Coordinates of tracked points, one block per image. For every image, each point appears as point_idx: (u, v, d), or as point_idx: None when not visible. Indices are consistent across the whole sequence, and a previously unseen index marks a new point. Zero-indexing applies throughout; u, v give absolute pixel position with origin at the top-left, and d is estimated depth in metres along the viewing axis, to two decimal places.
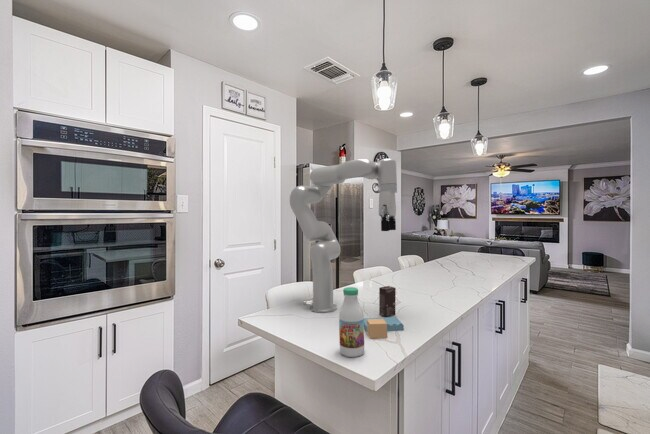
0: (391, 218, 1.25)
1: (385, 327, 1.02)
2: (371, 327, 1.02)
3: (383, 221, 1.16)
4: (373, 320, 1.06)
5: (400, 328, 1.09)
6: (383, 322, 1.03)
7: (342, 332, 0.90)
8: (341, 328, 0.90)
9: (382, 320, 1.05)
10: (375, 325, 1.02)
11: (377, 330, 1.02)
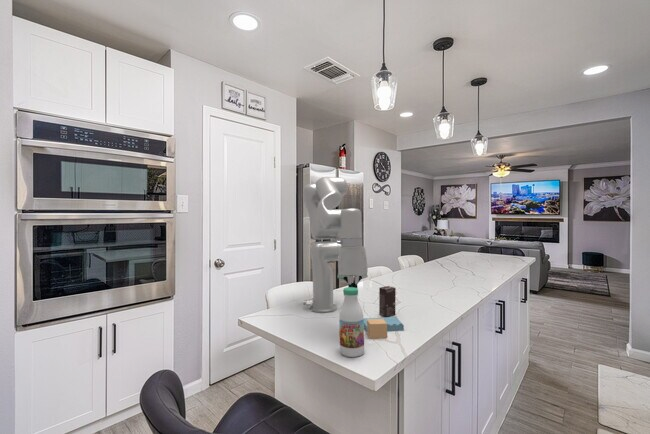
0: None
1: (385, 327, 1.02)
2: (371, 327, 1.02)
3: None
4: (373, 320, 1.06)
5: (400, 328, 1.09)
6: (383, 322, 1.03)
7: (342, 332, 0.90)
8: (341, 328, 0.90)
9: (382, 320, 1.05)
10: (375, 325, 1.02)
11: (377, 330, 1.02)
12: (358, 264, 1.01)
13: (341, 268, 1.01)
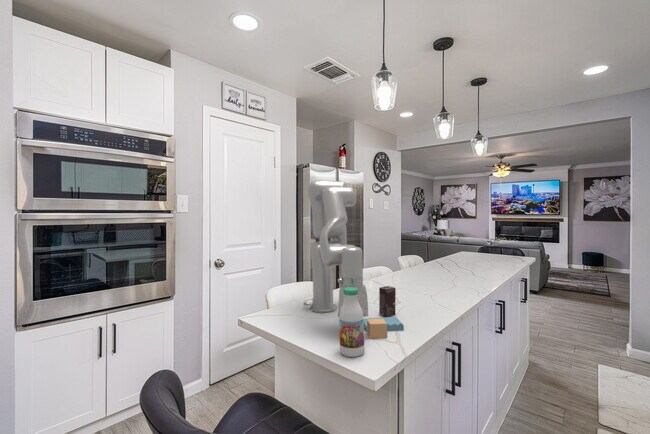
0: None
1: (385, 327, 1.02)
2: (371, 327, 1.02)
3: None
4: (373, 320, 1.06)
5: (400, 328, 1.09)
6: (383, 322, 1.03)
7: (342, 332, 0.90)
8: (341, 328, 0.90)
9: (382, 320, 1.05)
10: (375, 325, 1.02)
11: (377, 330, 1.02)
12: None
13: None
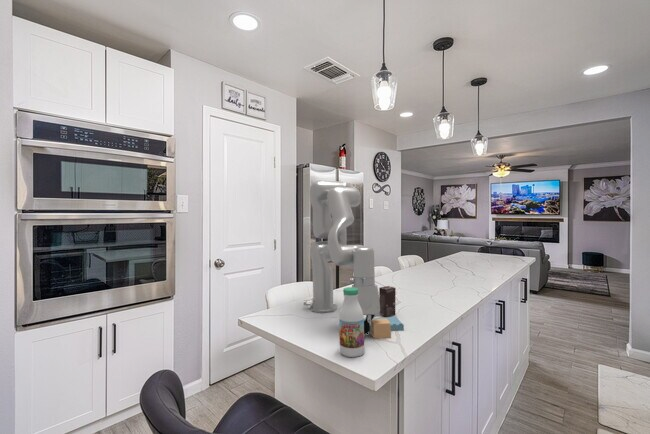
0: None
1: (389, 327, 1.02)
2: (375, 327, 1.02)
3: None
4: (377, 320, 1.06)
5: (400, 328, 1.09)
6: (387, 322, 1.03)
7: (342, 332, 0.90)
8: (341, 328, 0.90)
9: (385, 320, 1.05)
10: (379, 325, 1.02)
11: (381, 329, 1.02)
12: (371, 303, 1.02)
13: None
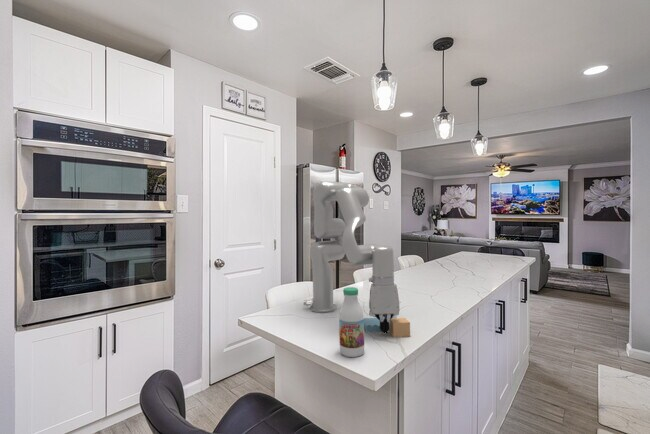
0: None
1: (408, 326, 1.03)
2: (394, 326, 1.03)
3: None
4: (395, 319, 1.06)
5: None
6: (406, 321, 1.04)
7: (342, 332, 0.90)
8: (341, 328, 0.90)
9: (404, 319, 1.06)
10: (398, 324, 1.03)
11: (400, 329, 1.03)
12: (390, 302, 1.02)
13: (373, 306, 1.02)
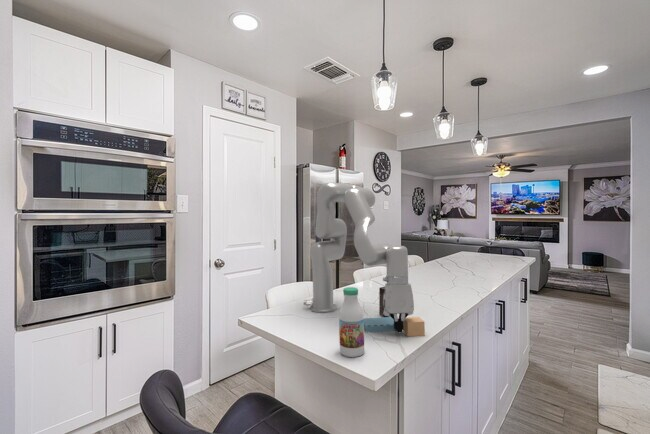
0: None
1: (423, 325, 1.03)
2: (409, 325, 1.03)
3: None
4: (409, 318, 1.07)
5: None
6: (420, 320, 1.04)
7: (342, 332, 0.90)
8: (341, 328, 0.90)
9: (418, 319, 1.06)
10: (413, 323, 1.03)
11: (415, 328, 1.03)
12: (405, 302, 1.03)
13: (388, 306, 1.02)
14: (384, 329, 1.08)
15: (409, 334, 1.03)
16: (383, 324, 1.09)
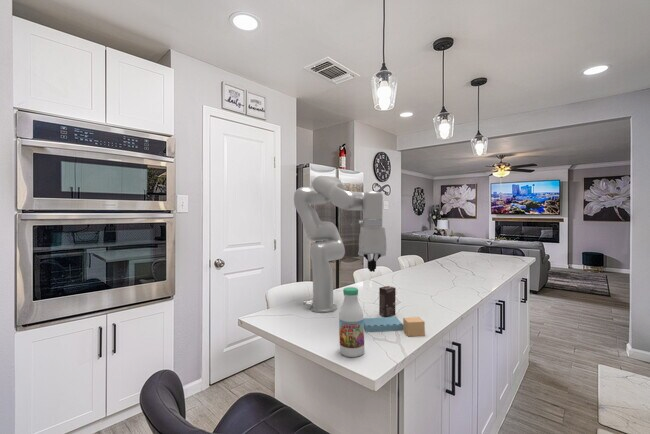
0: None
1: (423, 325, 1.03)
2: (409, 325, 1.03)
3: None
4: (410, 318, 1.07)
5: (400, 328, 1.09)
6: (420, 320, 1.04)
7: (342, 332, 0.90)
8: (341, 328, 0.90)
9: (418, 319, 1.06)
10: (413, 323, 1.03)
11: (415, 328, 1.03)
12: (378, 243, 1.10)
13: (362, 246, 1.10)
14: (384, 329, 1.08)
15: (409, 334, 1.03)
16: (383, 324, 1.09)
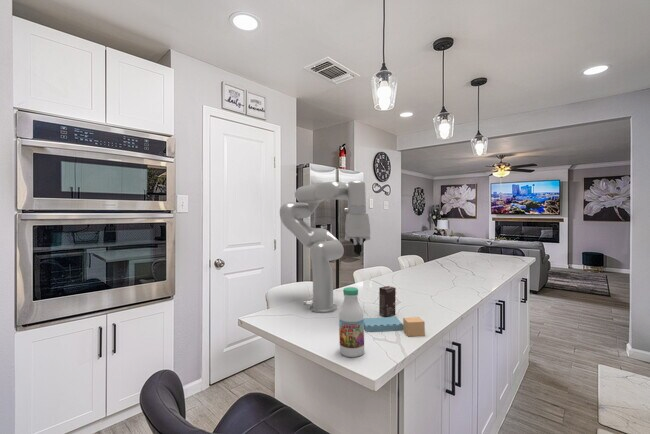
0: None
1: (423, 325, 1.03)
2: (409, 325, 1.03)
3: None
4: (410, 318, 1.07)
5: (400, 328, 1.09)
6: (420, 320, 1.04)
7: (342, 332, 0.90)
8: (341, 328, 0.90)
9: (418, 319, 1.06)
10: (413, 323, 1.03)
11: (415, 328, 1.03)
12: (362, 227, 1.20)
13: (348, 231, 1.20)
14: (384, 329, 1.08)
15: (409, 334, 1.03)
16: (383, 324, 1.09)
